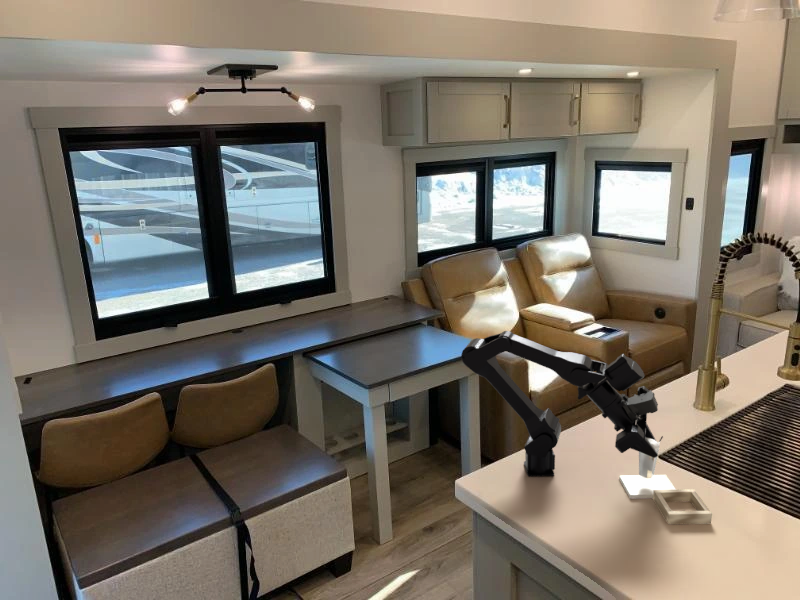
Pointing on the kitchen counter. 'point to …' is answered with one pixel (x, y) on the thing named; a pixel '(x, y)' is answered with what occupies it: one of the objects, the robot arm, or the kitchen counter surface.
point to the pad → (644, 485)
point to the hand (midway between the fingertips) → (656, 451)
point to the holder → (682, 517)
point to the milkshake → (648, 461)
